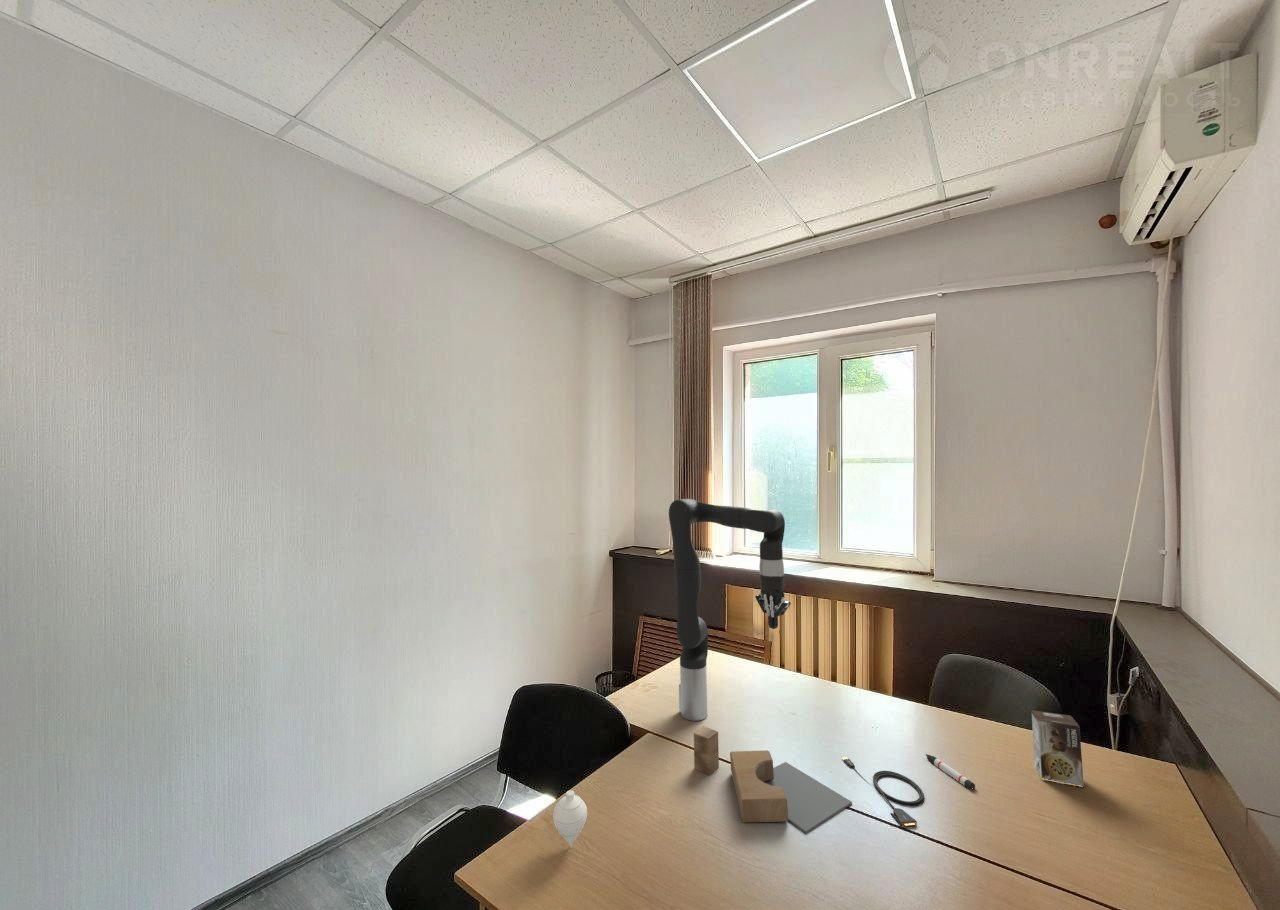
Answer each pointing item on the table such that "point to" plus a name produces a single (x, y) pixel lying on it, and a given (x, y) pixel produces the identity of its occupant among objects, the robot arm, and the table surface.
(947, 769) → the marker
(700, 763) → the walnut block
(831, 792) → the mat
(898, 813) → the cable
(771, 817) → the decorative block
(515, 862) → the table surface
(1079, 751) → the coffee box
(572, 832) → the spinning top
